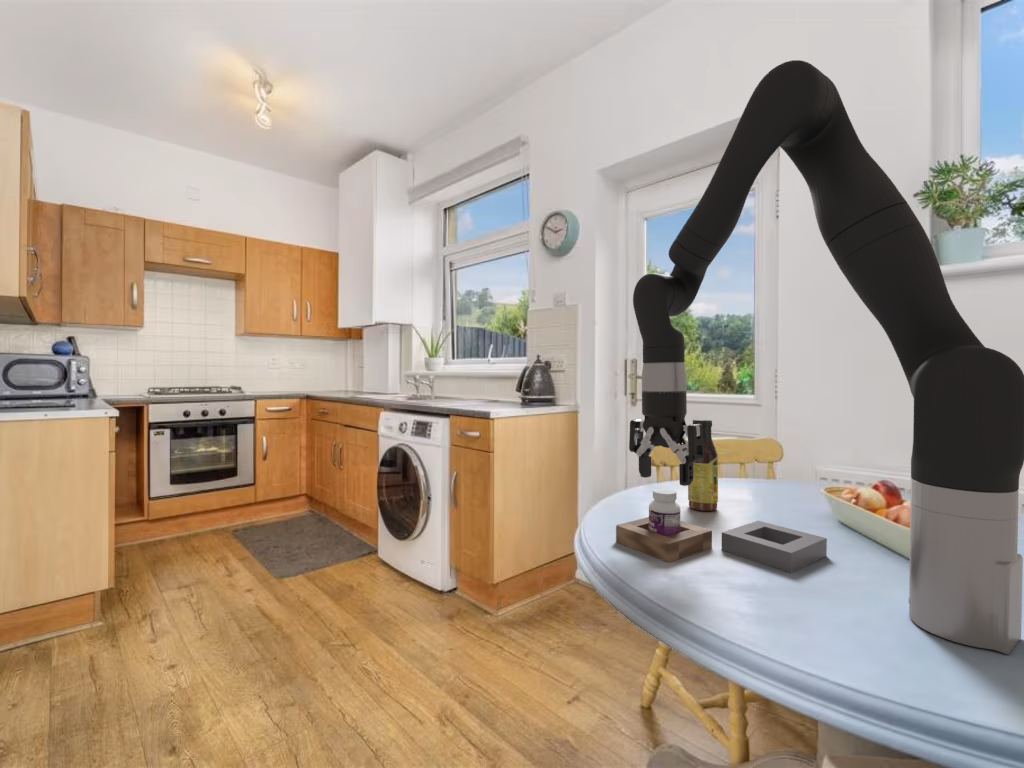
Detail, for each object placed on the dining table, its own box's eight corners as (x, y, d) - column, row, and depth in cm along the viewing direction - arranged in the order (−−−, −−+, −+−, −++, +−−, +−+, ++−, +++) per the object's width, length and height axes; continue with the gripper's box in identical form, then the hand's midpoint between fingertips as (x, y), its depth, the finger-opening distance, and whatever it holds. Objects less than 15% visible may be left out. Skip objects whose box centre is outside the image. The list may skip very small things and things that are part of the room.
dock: (711, 547, 83) (712, 530, 83) (668, 562, 77) (669, 543, 77) (658, 529, 93) (658, 514, 93) (616, 541, 87) (616, 525, 86)
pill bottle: (642, 541, 87) (642, 488, 86) (667, 538, 88) (668, 486, 88) (660, 552, 81) (660, 495, 81) (686, 548, 83) (687, 493, 83)
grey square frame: (826, 556, 79) (826, 538, 79) (791, 572, 73) (791, 552, 73) (758, 536, 89) (758, 520, 89) (721, 549, 82) (721, 532, 82)
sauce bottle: (720, 513, 104) (721, 421, 103) (690, 511, 105) (690, 421, 105) (714, 504, 110) (714, 418, 110) (685, 503, 112) (686, 418, 111)
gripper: (713, 388, 81) (713, 485, 81) (646, 388, 93) (647, 472, 93) (684, 390, 77) (685, 491, 77) (618, 389, 88) (619, 476, 89)
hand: (664, 480), depth 85 cm, fingers open, 8 cm apart
